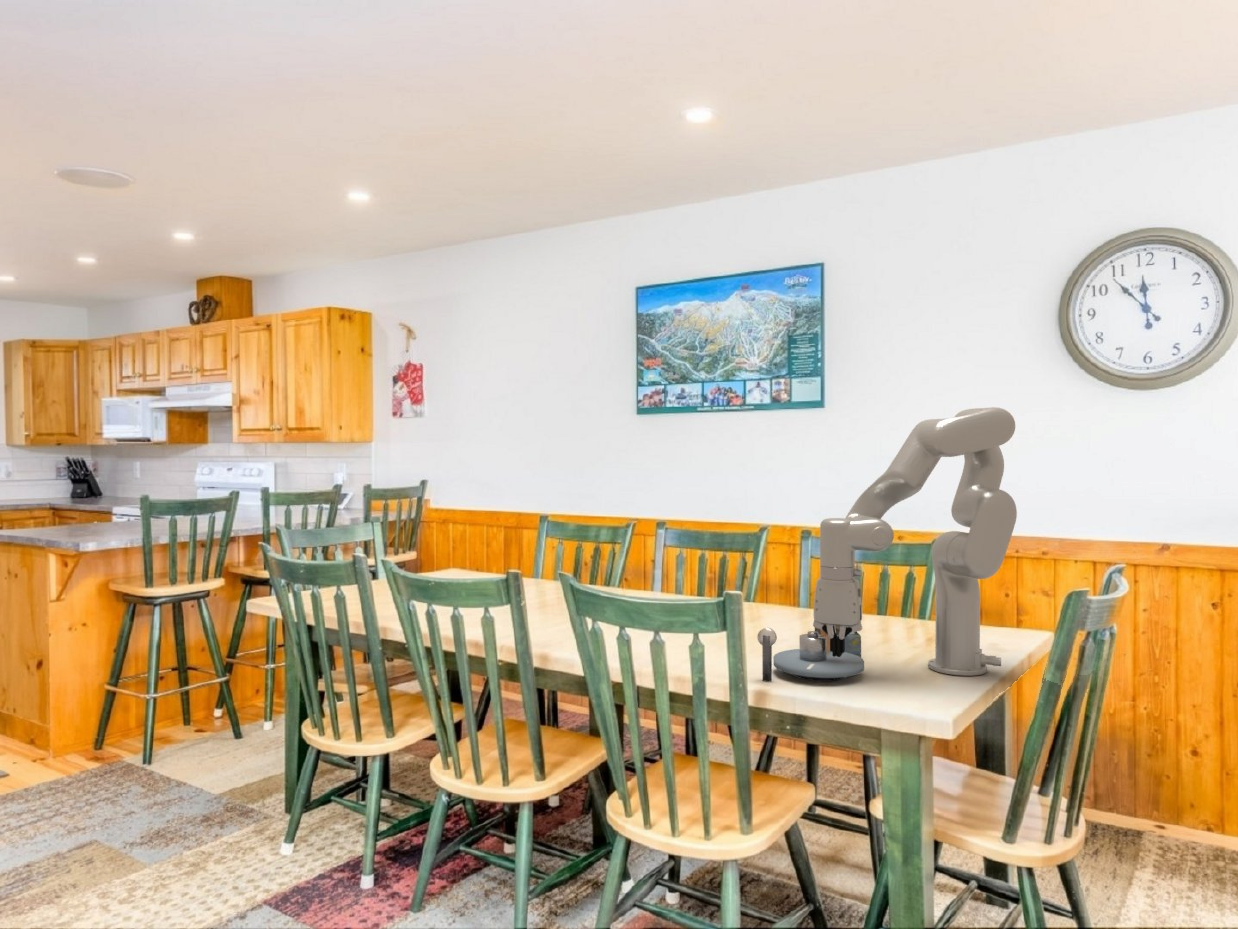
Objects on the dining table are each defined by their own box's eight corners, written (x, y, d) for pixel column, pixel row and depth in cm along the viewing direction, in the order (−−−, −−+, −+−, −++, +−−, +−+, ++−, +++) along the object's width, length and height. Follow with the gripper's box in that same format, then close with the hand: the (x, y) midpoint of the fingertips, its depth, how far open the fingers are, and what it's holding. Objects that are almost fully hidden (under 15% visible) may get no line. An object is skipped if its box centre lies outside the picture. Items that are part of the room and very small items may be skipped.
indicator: (777, 680, 190) (777, 628, 190) (774, 682, 189) (774, 630, 188) (759, 678, 192) (759, 626, 192) (756, 680, 190) (756, 628, 190)
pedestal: (850, 670, 198) (850, 663, 198) (839, 683, 187) (839, 676, 187) (798, 664, 204) (798, 658, 203) (785, 677, 193) (785, 670, 193)
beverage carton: (829, 659, 209) (828, 632, 209) (813, 641, 228) (813, 616, 228) (862, 659, 209) (862, 632, 209) (843, 641, 228) (843, 616, 228)
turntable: (872, 659, 200) (872, 627, 200) (854, 682, 182) (854, 646, 182) (787, 651, 209) (787, 620, 209) (762, 671, 191) (762, 637, 191)
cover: (828, 656, 198) (828, 630, 197) (824, 663, 192) (824, 636, 192) (802, 654, 200) (802, 628, 200) (797, 660, 194) (797, 634, 194)
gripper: (874, 573, 193) (874, 655, 194) (808, 569, 200) (808, 648, 200) (868, 578, 186) (868, 663, 187) (800, 574, 193) (800, 656, 193)
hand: (837, 655), depth 194 cm, fingers closed
